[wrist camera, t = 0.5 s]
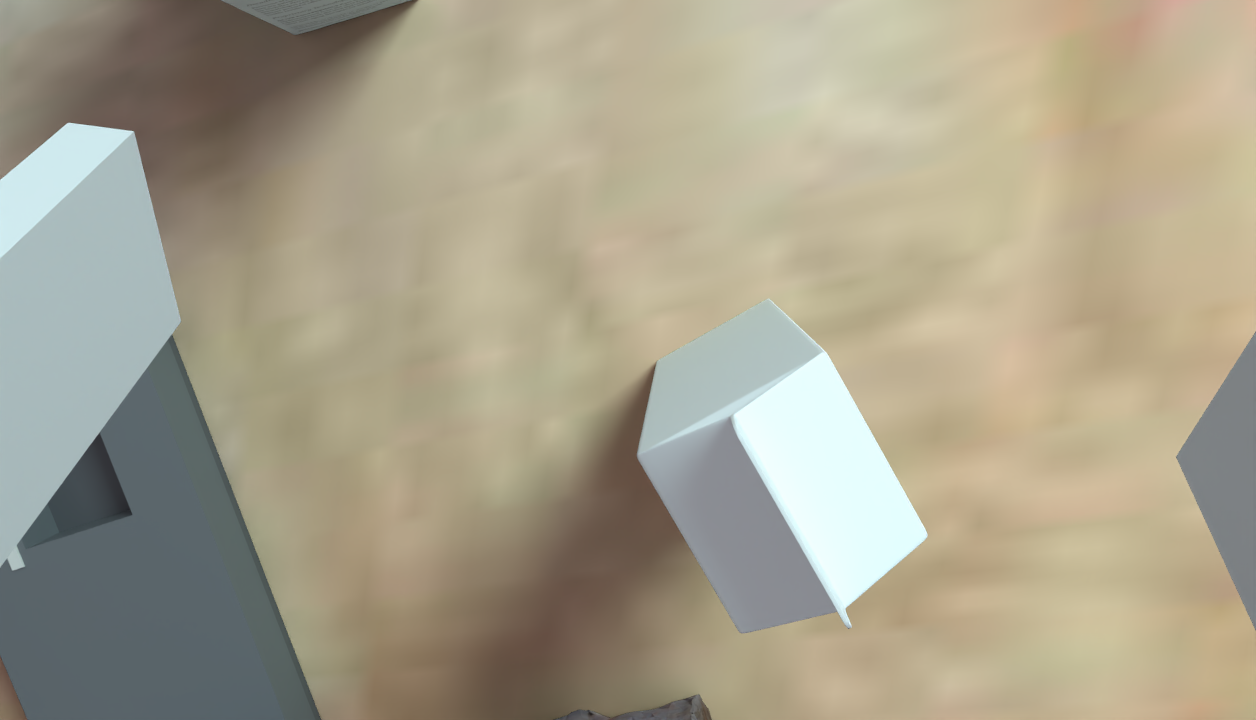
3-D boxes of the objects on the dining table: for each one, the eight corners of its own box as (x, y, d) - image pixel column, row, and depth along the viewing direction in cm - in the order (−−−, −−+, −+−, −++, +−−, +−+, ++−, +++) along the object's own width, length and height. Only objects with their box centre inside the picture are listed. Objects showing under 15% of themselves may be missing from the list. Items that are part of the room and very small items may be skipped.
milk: (718, 469, 47) (742, 694, 25) (654, 358, 46) (621, 488, 24) (834, 407, 46) (963, 582, 24) (770, 293, 45) (843, 367, 24)
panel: (377, 866, 50) (357, 908, 47) (164, 924, 52) (131, 969, 49) (160, 305, 47) (124, 311, 44) (-63, 382, 48) (-113, 393, 45)
